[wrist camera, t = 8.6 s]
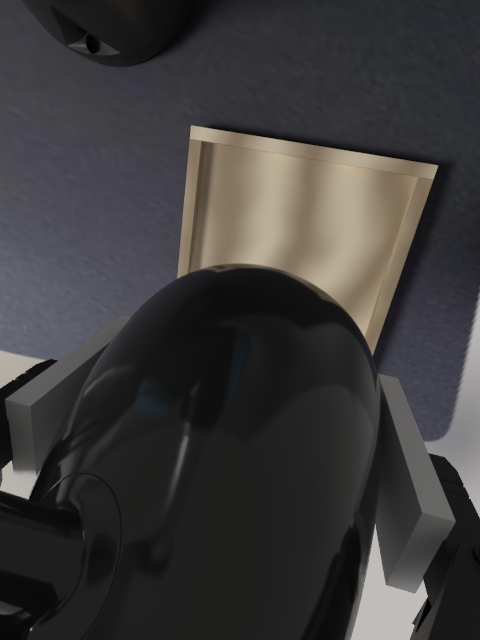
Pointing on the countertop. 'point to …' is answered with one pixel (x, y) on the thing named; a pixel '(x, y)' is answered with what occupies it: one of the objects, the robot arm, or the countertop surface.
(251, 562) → the pump dispenser
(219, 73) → the countertop surface
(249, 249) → the birch tray
